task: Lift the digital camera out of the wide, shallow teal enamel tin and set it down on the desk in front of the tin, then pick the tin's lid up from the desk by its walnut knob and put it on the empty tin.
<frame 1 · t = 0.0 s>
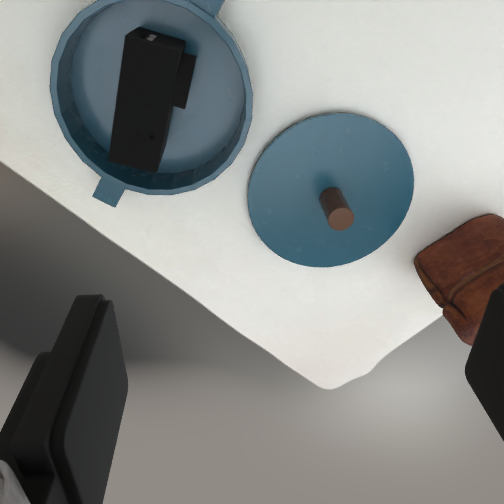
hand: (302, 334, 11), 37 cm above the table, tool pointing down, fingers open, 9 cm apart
wooden figurine: (459, 245, 55), on the table
tin lid: (330, 196, 49), point 1 cm above the table
tin: (159, 92, 43), on the table
digital camera: (159, 93, 43), resting on tin
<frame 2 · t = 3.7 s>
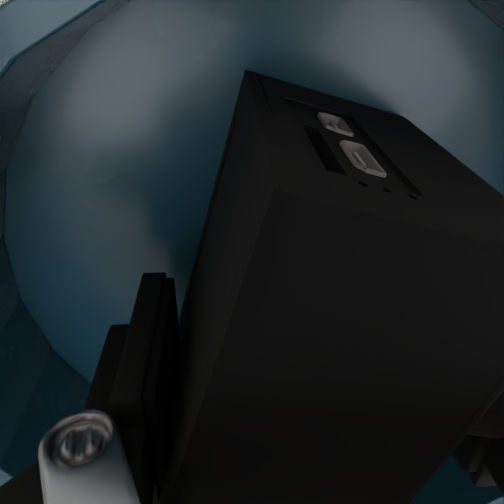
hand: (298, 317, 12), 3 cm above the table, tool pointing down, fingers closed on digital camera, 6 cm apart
tin: (286, 263, 14), on the table
digital camera: (284, 266, 14), resting on tin, touching gripper
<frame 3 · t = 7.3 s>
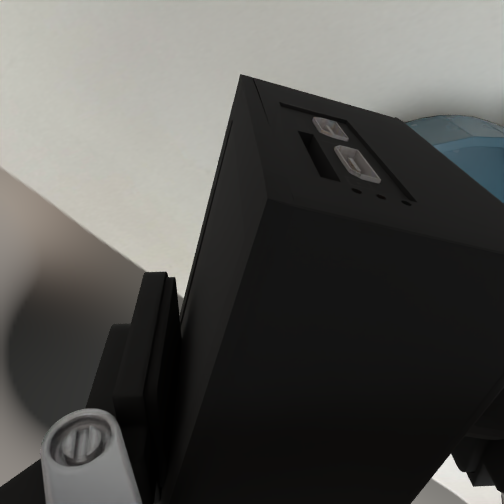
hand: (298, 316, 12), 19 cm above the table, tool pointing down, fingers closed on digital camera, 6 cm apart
tin: (422, 233, 33), on the table
digital camera: (282, 269, 14), point 17 cm above the table, touching gripper
when the fingers open (2 cm above the table, at t = 11.1 s): digital camera stays where it is, on the table.
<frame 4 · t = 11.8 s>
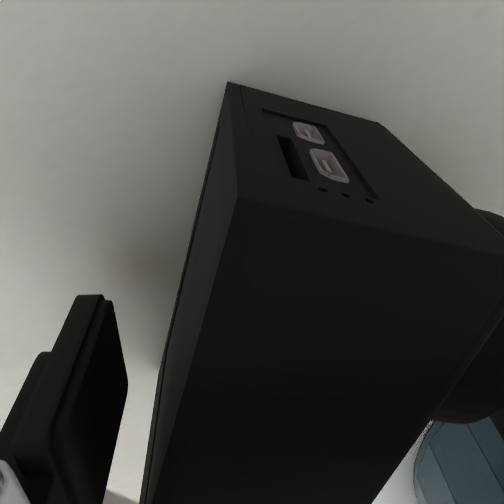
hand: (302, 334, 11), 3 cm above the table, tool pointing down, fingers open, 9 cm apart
digital camera: (271, 267, 14), on the table
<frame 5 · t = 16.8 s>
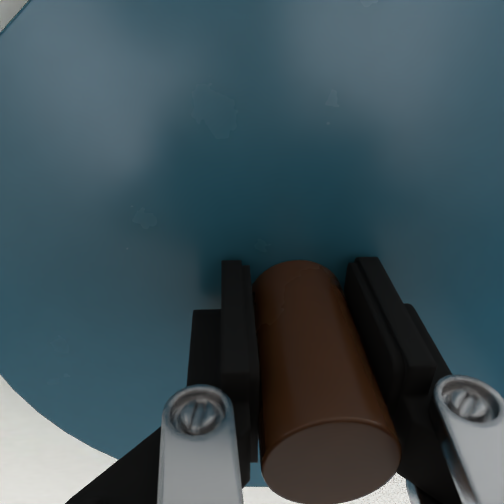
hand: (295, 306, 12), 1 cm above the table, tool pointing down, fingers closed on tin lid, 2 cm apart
tin lid: (292, 287, 13), point 1 cm above the table, touching gripper
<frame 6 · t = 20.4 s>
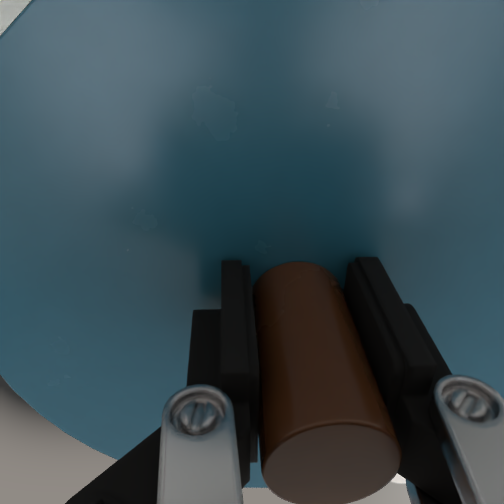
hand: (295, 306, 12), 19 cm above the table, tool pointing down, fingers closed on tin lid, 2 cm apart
tin lid: (292, 289, 13), point 18 cm above the table, touching gripper
when the fingers open (5 cm above the table, at t = 24.0 s): tin lid stays where it is, resting on tin.
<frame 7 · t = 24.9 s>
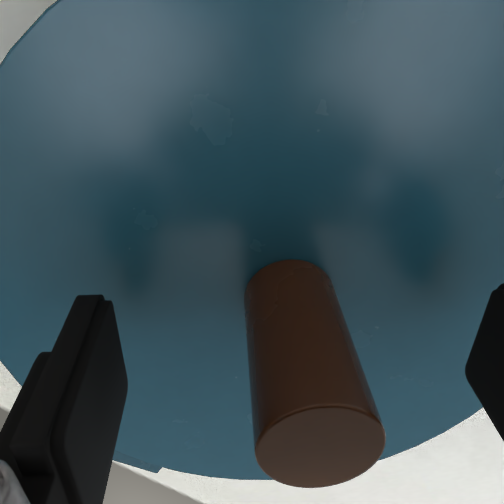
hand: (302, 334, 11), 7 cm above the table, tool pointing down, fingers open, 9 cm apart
tin lid: (286, 286, 14), point 5 cm above the table, touching tin
tin: (272, 213, 17), on the table
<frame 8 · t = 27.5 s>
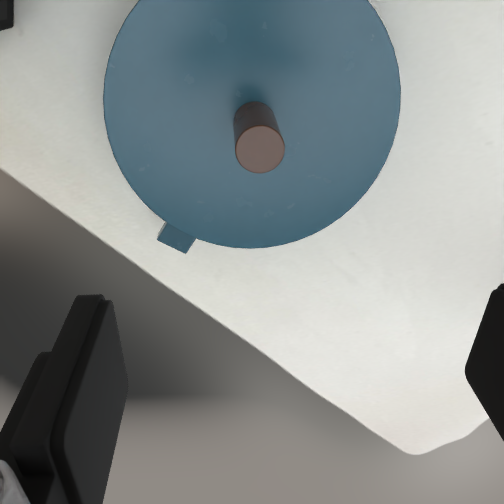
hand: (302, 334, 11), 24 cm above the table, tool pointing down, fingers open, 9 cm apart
tin lid: (253, 120, 28), point 5 cm above the table, touching tin
tin: (250, 100, 32), on the table
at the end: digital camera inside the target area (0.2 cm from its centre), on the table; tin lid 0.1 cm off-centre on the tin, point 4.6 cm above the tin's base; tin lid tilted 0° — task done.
